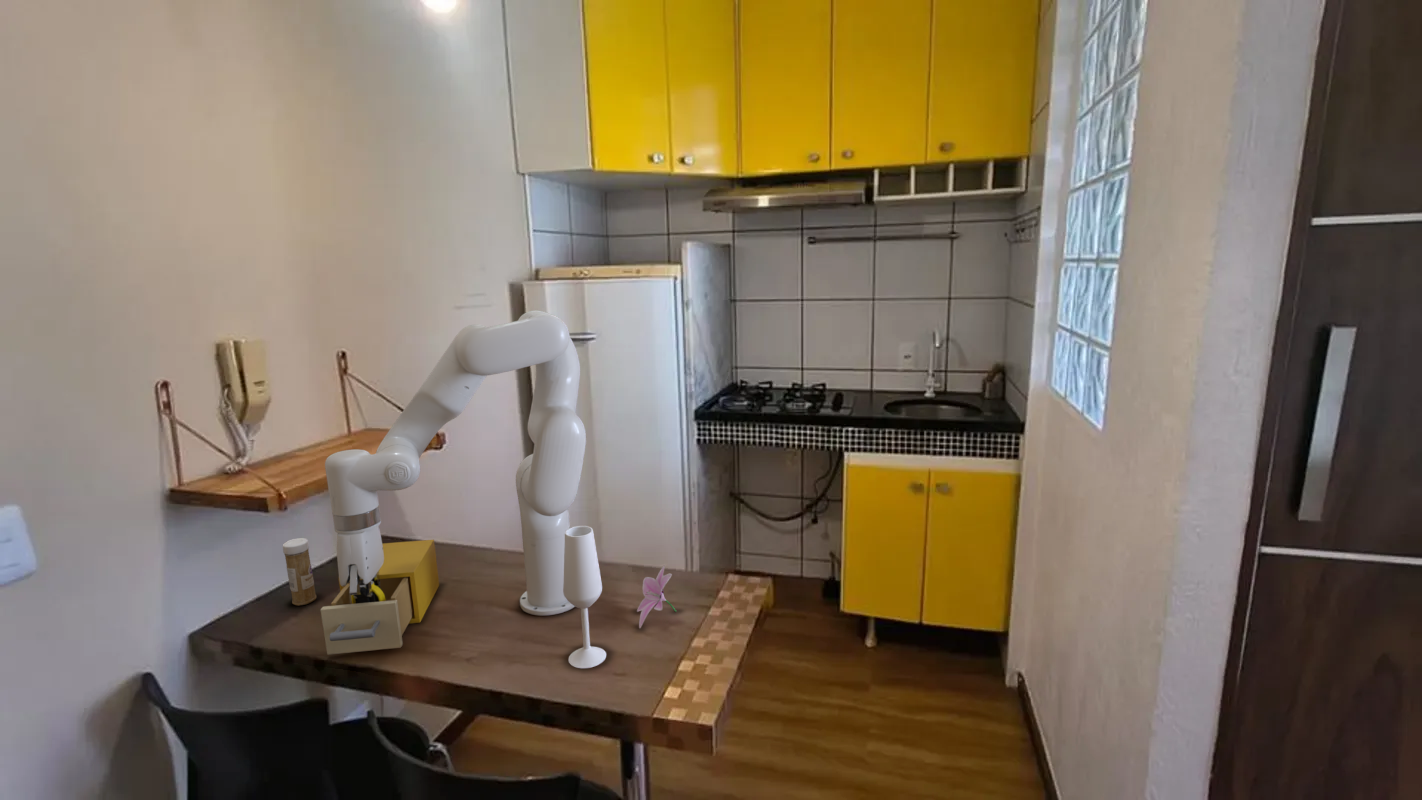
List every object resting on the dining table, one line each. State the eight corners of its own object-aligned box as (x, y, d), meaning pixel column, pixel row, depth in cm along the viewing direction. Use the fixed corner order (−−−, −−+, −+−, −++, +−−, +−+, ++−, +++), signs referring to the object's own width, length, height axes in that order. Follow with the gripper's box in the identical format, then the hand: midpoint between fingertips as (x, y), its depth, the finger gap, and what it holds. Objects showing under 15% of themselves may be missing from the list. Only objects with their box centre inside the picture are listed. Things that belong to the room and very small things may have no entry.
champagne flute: (599, 669, 117) (590, 540, 112) (562, 666, 118) (552, 538, 113) (611, 648, 123) (604, 524, 118) (576, 645, 124) (567, 522, 119)
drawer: (393, 661, 119) (387, 615, 117) (316, 669, 117) (309, 623, 115) (422, 607, 137) (417, 567, 135) (356, 613, 135) (350, 572, 133)
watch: (389, 610, 127) (385, 581, 125) (380, 617, 124) (376, 588, 123) (360, 608, 127) (356, 579, 126) (350, 616, 125) (346, 586, 123)
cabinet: (420, 622, 133) (413, 572, 131) (345, 629, 131) (338, 578, 129) (439, 585, 148) (434, 539, 146) (373, 591, 147) (366, 544, 144)
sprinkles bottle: (317, 602, 142) (308, 542, 139) (292, 608, 140) (282, 548, 137) (316, 593, 146) (307, 535, 143) (291, 599, 143) (281, 540, 141)
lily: (649, 600, 142) (626, 568, 138) (699, 584, 138) (676, 552, 135) (639, 646, 132) (613, 613, 128) (691, 631, 128) (667, 597, 124)
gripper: (351, 504, 129) (364, 592, 133) (316, 538, 113) (332, 636, 117) (392, 501, 130) (404, 588, 134) (363, 534, 114) (377, 632, 118)
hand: (370, 610), depth 126 cm, fingers closed on watch, 2 cm apart
